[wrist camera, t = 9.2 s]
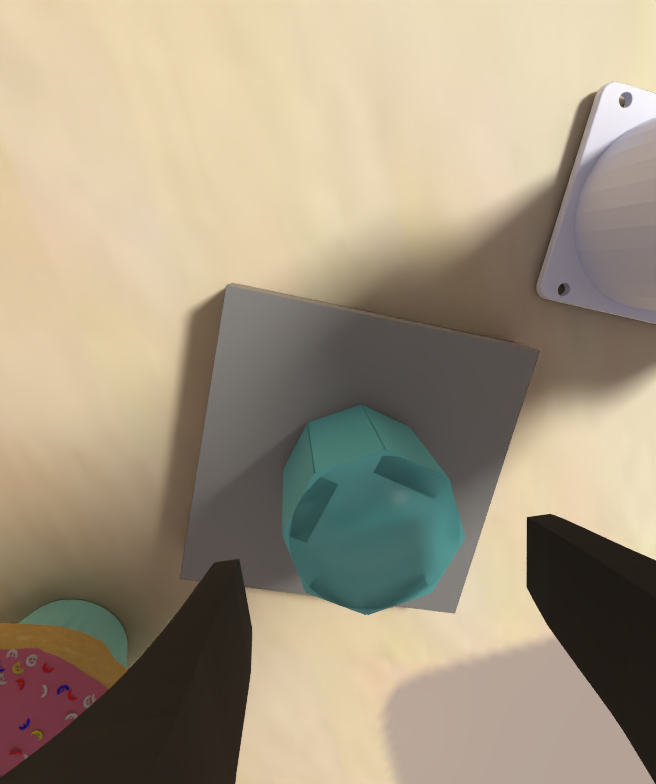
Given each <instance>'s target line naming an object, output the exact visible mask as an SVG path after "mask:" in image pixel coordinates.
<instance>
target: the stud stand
mask: <svg viewBox="0 0 656 784" xmlns="http://www.w3.org/2000/svg"><path fill="white" fill-rule="evenodd" d="M538 354H539V351H538V350H535V349H532V348H529V347H526V346H523V345H520V344H518V343H514V342H509V341H505V340H500V339H495V338H490V337H486V336H481V335H476V334H472V333H467V332H462V331H457V330H453V329H448V328H443V327H438V326H434V325H429V324H424V323H420V322H415V321H410V320H405V319H401V318H396V317H391V316H387V315H382V314H377V313H372V312H368V311H363V310H358V309H354V308H349V307H344V306H339V305H335V304H330V303H325V302H320V301H316V300H311V299H306V298H302V297H297V296H292V295H287V294H283V293H278V292H273V291H269V290H264V289H259V288H254V287H250V286H245V285H240V284H235V283H231V284H228V285H226V291H225V297H224V304H223V310H222V316H221V322H220V329H219V335H218V341H217V348H216V354H215V360H214V366H213V373H212V379H211V385H210V392H209V398H208V404H207V410H206V417H205V423H204V429H203V436H202V442H201V448H200V454H199V461H198V467H197V473H196V479H195V486H194V492H193V498H192V505H191V511H190V517H189V523H188V530H187V536H186V542H185V549H184V555H183V561H182V567H181V574H180V579H187V580H195V581H201V580H202V578H203V577H204V575H205V574H206V573H207V571H208V570H209V568H210V567H211V566H212V565H213V563H214V562H220V561H227V560H234V559H240V565H241V570H242V576H243V581H244V587H250V588H258V589H266V590H274V591H281V592H289V593H297V594H305V595H311V594H308V593H306V592H305V590H304V588H303V585H302V583H301V580H300V578H299V575H298V573H297V570H296V568H295V565H294V563H293V561H292V558H291V556H290V553H289V551H288V548H287V546H286V543H285V541H284V538H283V536H282V503H283V469H284V467H285V465H286V463H287V461H288V459H289V457H290V455H291V453H292V451H293V450H294V448H295V446H296V444H297V442H298V440H299V438H300V436H301V434H302V432H303V430H304V428H305V426H306V424H308V422H311V421H314V420H317V419H320V418H323V417H326V416H328V415H331V414H334V413H337V412H340V411H343V410H346V409H349V408H352V407H355V406H358V405H361V406H362V405H364V406H366V407H368V408H370V409H373V410H375V411H377V412H379V413H381V414H383V415H385V416H388V417H390V418H392V419H394V420H396V421H398V422H400V423H402V424H405V425H407V426H409V427H410V428H411V429H412V430H413V432H414V433H415V434H416V436H417V437H418V438H419V440H420V441H421V442H422V443H423V445H424V446H425V447H426V449H427V450H428V451H429V453H430V454H431V455H432V457H433V458H434V459H435V461H436V462H437V463H438V464H439V466H440V467H441V468H442V470H443V471H444V472H445V474H446V475H447V476H448V478H449V480H450V484H451V487H452V491H453V494H454V498H455V501H456V505H457V509H458V512H459V516H460V519H461V523H462V526H463V530H464V533H465V540H464V542H463V543H462V545H461V546H460V548H459V550H458V551H457V553H456V554H455V556H454V558H453V559H452V561H451V563H450V564H449V566H448V567H447V569H446V571H445V572H444V574H443V575H442V577H441V579H440V580H439V582H438V583H437V585H436V587H435V588H434V590H433V592H432V593H431V592H430V594H428V595H425V596H422V597H419V598H416V599H413V600H410V601H407V602H405V603H402V604H399V605H396V606H400V607H408V608H415V609H423V610H431V611H439V612H447V613H455V611H456V608H457V605H458V602H459V599H460V596H461V593H462V590H463V586H464V583H465V580H466V577H467V574H468V571H469V568H470V565H471V562H472V559H473V555H474V552H475V549H476V546H477V543H478V540H479V537H480V534H481V531H482V528H483V525H484V521H485V518H486V515H487V512H488V509H489V506H490V503H491V500H492V497H493V494H494V490H495V487H496V484H497V481H498V478H499V475H500V472H501V469H502V466H503V463H504V460H505V456H506V453H507V450H508V447H509V444H510V441H511V438H512V435H513V432H514V429H515V425H516V422H517V419H518V416H519V413H520V410H521V407H522V404H523V401H524V398H525V395H526V391H527V388H528V385H529V382H530V379H531V376H532V373H533V370H534V367H535V364H536V361H537V357H538ZM313 596H314V595H313Z"/></svg>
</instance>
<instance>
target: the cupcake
mask: <svg viewBox="0 0 656 784" xmlns="http://www.w3.org/2000/svg"><path fill="white" fill-rule="evenodd" d="M127 649H128V643H127V636H126V633H125V631H124V628H123V626H122V625H121V623H120V622H119V620H118V619H117V618H116V617H115V616H114V615H113V614H112V613H110V612H109V611H108V610H106V609H105V608H103V607H101V606H99V605H97V604H94V603H91V602H88V601H83V600H74V599H68V600H59V601H55V602H51V603H48V604H46V605H44V606H42V607H40V608H38V609H37V610H35V611H34V612H32V613H31V614H30V615H29V616H27V617H26V618H24V619H23V620H22V621H20V622H19V623H18V624H16V623H0V777H2V776H3V775H4V774H6V773H7V772H9V771H10V770H11V769H13V768H14V767H15V766H17V765H18V764H19V763H21V762H22V761H23V760H25V759H26V758H27V757H29V756H30V755H31V754H33V753H34V752H35V751H37V750H38V749H39V748H41V747H42V746H43V745H44V744H46V743H47V742H48V741H49V740H51V739H52V738H53V737H54V736H56V735H57V734H58V733H59V732H61V731H62V730H63V729H64V728H66V727H67V726H68V725H69V724H70V723H71V722H72V721H74V720H75V719H76V718H77V717H78V716H79V715H80V714H82V713H83V712H84V711H85V710H86V709H87V708H88V707H89V706H91V705H92V704H93V703H94V702H95V701H96V700H97V699H99V698H100V697H101V696H102V695H103V694H104V693H105V692H106V691H107V690H108V689H110V688H111V687H112V686H113V685H114V684H115V683H116V682H117V681H118V680H119V679H120V678H121V677H122V676H123V675H124V674H125V673H126V672H127V671H128V669H127Z"/></svg>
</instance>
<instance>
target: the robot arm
mask: <svg viewBox="0 0 656 784" xmlns="http://www.w3.org/2000/svg"><path fill="white" fill-rule="evenodd" d="M620 96H622V97H624V99H625V106H624V108H623V107H621V106H620V104H619V97H620ZM561 284H564V287H565V290H564V292H563V294H561V295H559V294H558V287H559V286H560V285H561ZM536 290H537V294H538V295H539V296H540V297H541V298H544V299H547V300H552V301H556V302H561V303H565V304H569V305H574V306H578V307H583V308H587V309H591V310H596V311H600V312H605V313H609V314H613V315H618V316H622V317H627V318H631V319H635V320H640V321H644V322H649V323H653V324H656V93H653V92H650V91H647V90H643V89H640V88H637V87H633V86H630V85H627V84H623V83H620V82H613V81H612V82H610V83H608V84H606V85H604V86H602V87H601V88H600V89H599V90H598V92H597V94H596V96H595V99H594V102H593V105H592V108H591V112H590V115H589V118H588V121H587V125H586V128H585V131H584V134H583V137H582V141H581V144H580V147H579V150H578V153H577V157H576V160H575V163H574V166H573V170H572V173H571V176H570V179H569V182H568V186H567V189H566V192H565V195H564V198H563V202H562V205H561V208H560V211H559V215H558V218H557V221H556V224H555V227H554V231H553V234H552V237H551V240H550V243H549V247H548V250H547V253H546V256H545V259H544V263H543V266H542V269H541V272H540V276H539V279H538V282H537V287H536ZM527 589H528V591H529V592H530V594H531V596H532V598H533V600H534V602H535V604H536V606H537V608H538V609H539V611H540V613H541V615H542V616H543V618H544V620H545V622H546V623H547V625H548V626H549V628H550V629H551V631H552V632H553V634H554V635H555V636H556V638H557V639H558V640H559V642H560V643H561V645H562V646H563V647H564V649H565V650H566V651H567V653H568V654H569V656H570V657H571V658H572V660H573V661H574V662H575V664H576V665H577V667H578V668H579V669H580V671H581V672H582V673H583V675H584V676H585V678H586V679H587V680H588V682H589V683H590V684H591V686H592V687H593V688H594V690H595V691H596V693H597V694H598V695H599V697H600V698H601V699H602V701H603V702H604V704H605V705H606V706H607V708H608V709H609V710H610V712H611V713H612V715H613V716H614V718H615V719H616V721H617V722H618V724H619V725H620V727H621V728H622V729H623V731H624V733H625V734H626V736H627V738H628V739H629V741H630V742H631V744H632V746H633V747H634V749H635V751H636V752H637V754H638V756H639V757H640V759H641V761H642V762H643V764H644V766H645V767H646V769H647V771H648V772H649V773H650V776H651V777H652V779H653V780H654V782H655V784H656V560H654V559H651V558H649V557H647V556H644V555H642V554H640V553H637V552H635V551H633V550H631V549H628V548H626V547H624V546H622V545H620V544H617V543H615V542H613V541H611V540H609V539H607V538H604V537H602V536H600V535H598V534H596V533H594V532H591V531H589V530H587V529H585V528H583V527H581V526H578V525H576V524H574V523H572V522H570V521H567V520H565V519H563V518H560V517H558V516H555V515H552V514H546V515H539V516H533V517H527ZM251 654H252V625H251V620H250V614H249V609H248V603H247V598H246V592H245V587H244V581H243V576H242V570H241V565H240V559H234V560H227V561H220V562H214V563H213V565H212V566H211V567H210V568H209V570H208V571H207V573H206V574H205V575H204V577H203V578H202V580H201V581H200V582H199V584H198V585H197V587H196V588H195V589H194V591H193V592H192V594H191V595H190V596H189V598H188V599H187V600H186V602H185V603H184V604H183V606H182V607H181V608H180V610H179V611H178V612H177V614H176V615H175V616H174V617H173V619H172V620H171V621H170V623H169V624H168V625H167V626H166V628H165V629H164V630H163V631H162V632H161V634H160V635H159V636H158V637H157V638H156V640H155V641H154V642H153V643H152V644H151V645H150V647H149V648H148V649H147V650H146V651H145V653H144V654H143V655H142V656H141V657H140V658H139V659H138V660H137V661H136V662H135V663H134V664H133V666H132V667H131V668H130V669H129V670H128V671H127V672H126V673H125V674H124V675H123V676H122V677H121V678H120V679H119V680H118V681H117V682H116V683H115V684H114V685H113V686H112V687H111V688H110V689H108V690H107V691H106V692H105V693H104V694H103V695H102V696H101V697H100V698H99V699H97V700H96V701H95V702H94V703H93V704H92V705H91V706H89V707H88V708H87V709H86V710H85V711H84V712H83V713H82V714H80V715H79V716H78V717H77V718H76V719H75V720H74V721H72V722H71V723H70V724H69V725H68V726H67V727H66V728H64V729H63V730H62V731H61V732H59V733H58V734H57V735H56V736H54V737H53V738H52V739H51V740H49V741H48V742H47V743H46V744H44V745H43V746H42V747H41V748H39V749H38V750H37V751H35V752H34V753H33V754H31V755H30V756H29V757H27V758H26V759H25V760H23V761H22V762H21V763H19V764H18V765H17V766H15V767H14V768H13V769H11V770H10V771H9V772H7V773H6V774H4V775H3V776H2V777H0V784H235V781H236V772H237V765H238V758H239V751H240V744H241V737H242V730H243V724H244V717H245V710H246V703H247V696H248V689H249V681H250V674H251Z"/></svg>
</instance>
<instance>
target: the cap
mask: <svg viewBox="0 0 656 784" xmlns="http://www.w3.org/2000/svg"><path fill="white" fill-rule="evenodd" d="M282 536H283V538H284V541H285V543H286V546H287V548H288V551H289V553H290V556H291V558H292V561H293V563H294V565H295V568H296V570H297V573H298V575H299V578H300V580H301V583H302V585H303V588H304V590H305V592H306V593H308V594H311V595H314V596H316V597H319V598H322V599H324V600H327V601H330V602H332V603H335V604H338V605H340V606H343V607H346V608H348V609H351V610H354V611H356V612H359V613H362V614H364V615H366V614H367V615H369V614H372V613H375V612H378V611H381V610H384V609H387V608H390V607H393V606H396V605H399V604H402V603H405V602H407V601H410V600H413V599H416V598H419V597H422V596H425V595H428V594H430V592H431V593H432V592H433V590H434V588H435V587H436V585H437V583H438V582H439V580H440V579H441V577H442V575H443V574H444V572H445V571H446V569H447V567H448V566H449V564H450V563H451V561H452V559H453V558H454V556H455V554H456V553H457V551H458V550H459V548H460V546H461V545H462V543H463V542H464V540H465V533H464V530H463V526H462V523H461V519H460V516H459V512H458V509H457V505H456V501H455V498H454V494H453V491H452V487H451V484H450V480H449V478H448V476H447V475H446V474H445V472H444V471H443V470H442V468H441V467H440V466H439V464H438V463H437V462H436V461H435V459H434V458H433V457H432V455H431V454H430V453H429V451H428V450H427V449H426V447H425V446H424V445H423V443H422V442H421V441H420V440H419V438H418V437H417V436H416V434H415V433H414V432H413V430H412V429H411V428H410V427H409V426H407V425H405V424H402V423H400V422H398V421H396V420H394V419H392V418H390V417H388V416H385V415H383V414H381V413H379V412H377V411H375V410H373V409H370V408H368V407H366V406H364V405H362V406H361V405H358V406H355V407H352V408H349V409H346V410H343V411H340V412H337V413H334V414H331V415H328V416H326V417H323V418H320V419H317V420H314V421H311V422H308V424H306V426H305V428H304V430H303V432H302V434H301V436H300V438H299V440H298V442H297V444H296V446H295V448H294V450H293V451H292V453H291V455H290V457H289V459H288V461H287V463H286V465H285V467H284V469H283V503H282Z"/></svg>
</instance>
